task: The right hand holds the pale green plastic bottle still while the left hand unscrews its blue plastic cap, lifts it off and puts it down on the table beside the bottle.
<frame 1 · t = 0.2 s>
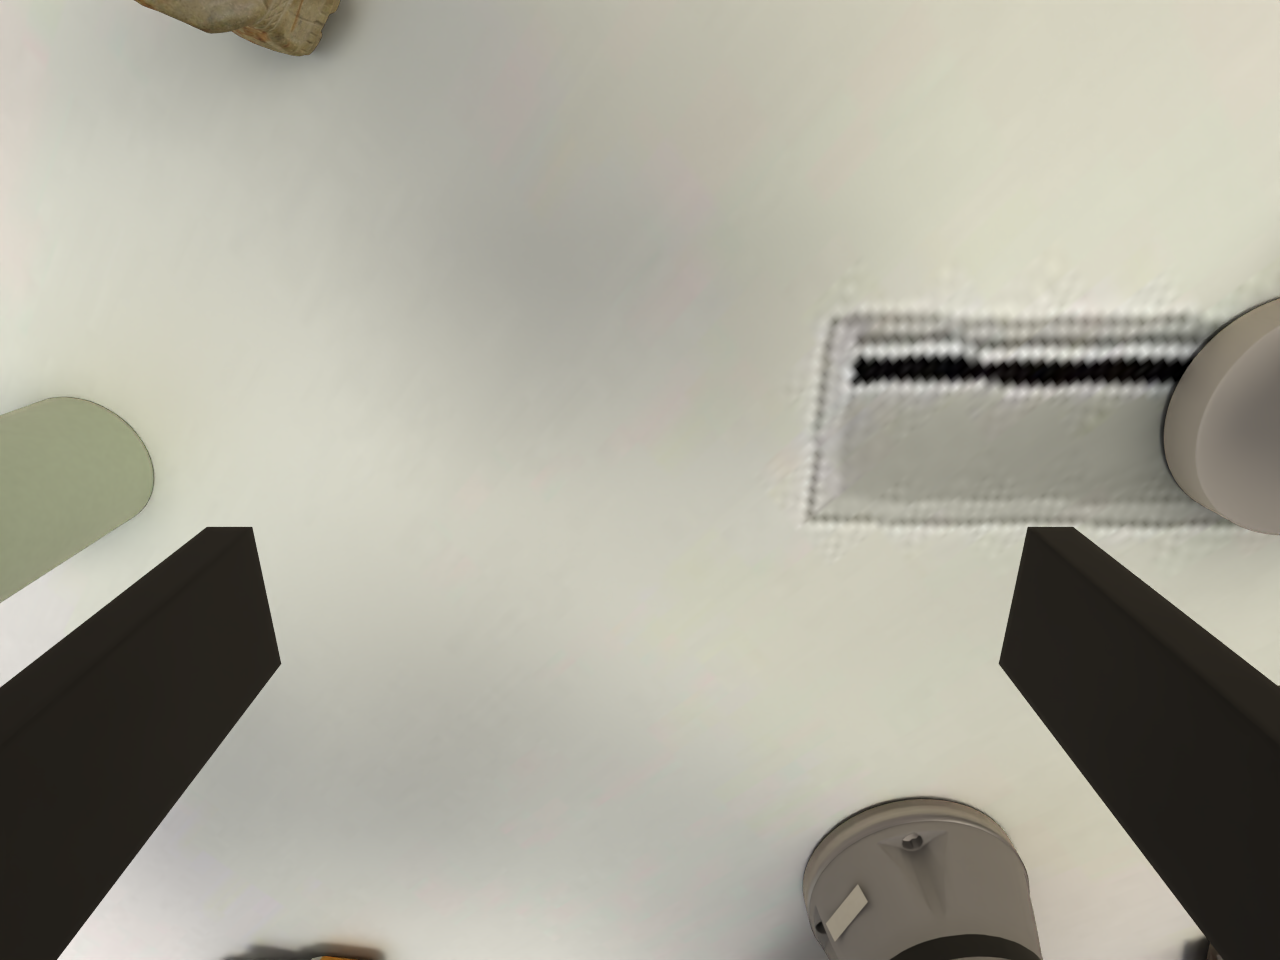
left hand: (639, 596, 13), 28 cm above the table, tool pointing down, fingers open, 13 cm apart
bottle: (83, 463, 42), on the table
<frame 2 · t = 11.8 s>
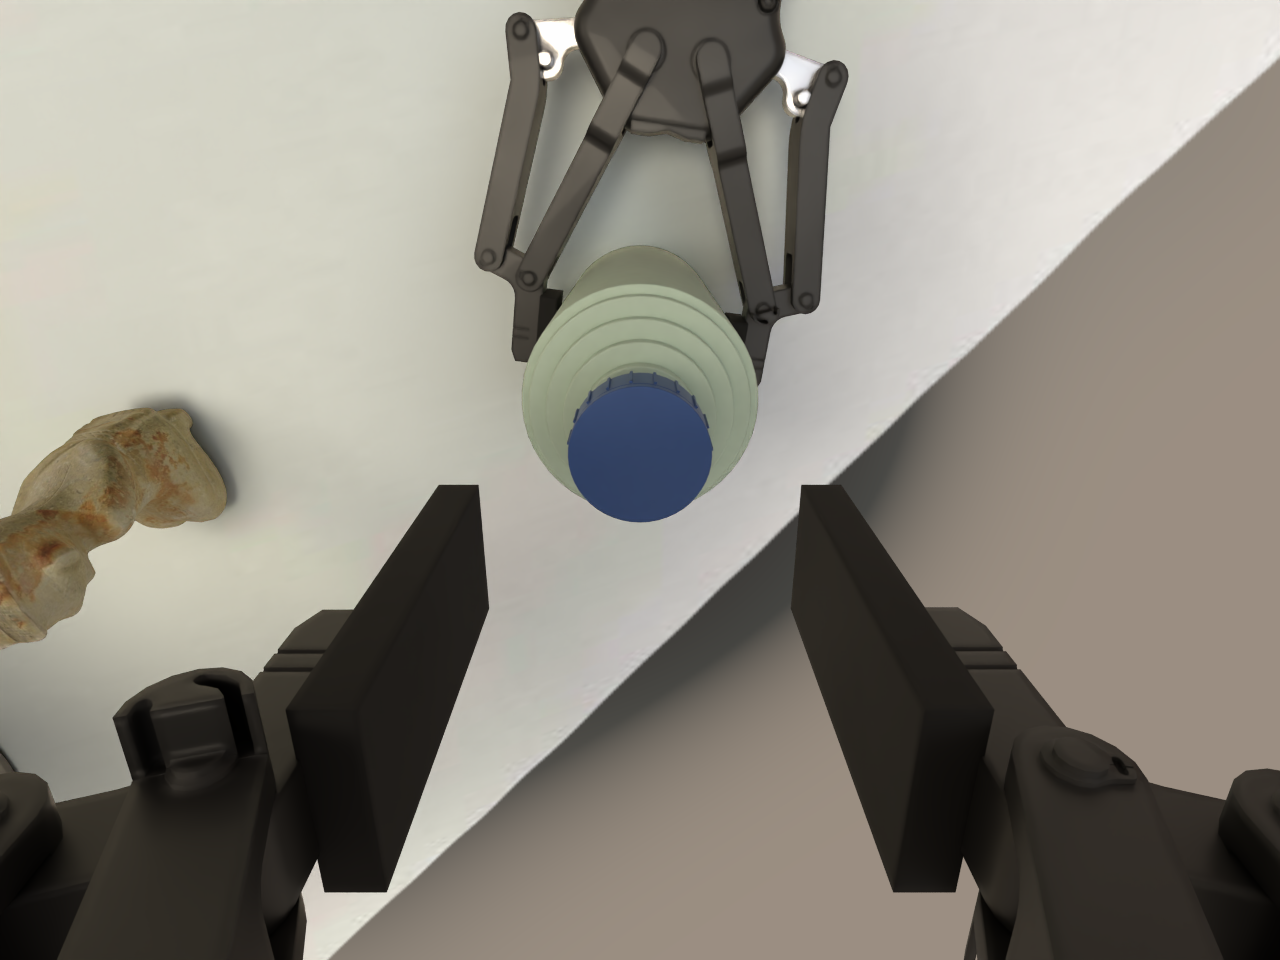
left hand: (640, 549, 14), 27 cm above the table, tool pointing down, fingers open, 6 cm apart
right hand: (627, 439, 36), fingers closed on bottle, 8 cm apart
bottle: (639, 320, 40), on the table, touching right hand
sculpture: (183, 455, 43), on the table
cap: (639, 453, 20), point 22 cm above the table, screwed on, not yet turned
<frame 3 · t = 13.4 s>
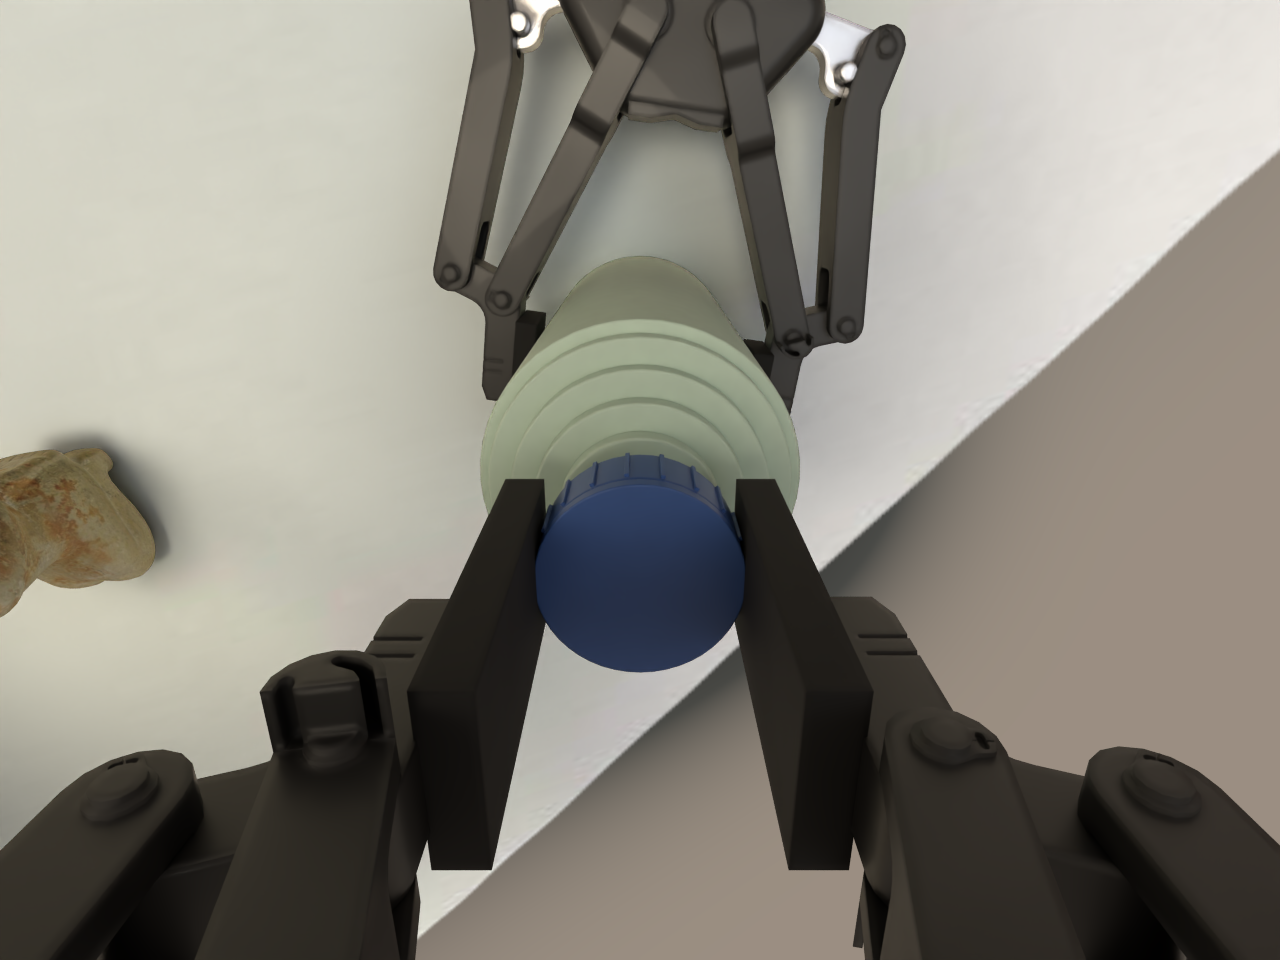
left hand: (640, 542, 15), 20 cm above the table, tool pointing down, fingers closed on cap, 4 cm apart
right hand: (624, 492, 30), fingers closed on bottle, 8 cm apart
bottle: (640, 344, 34), on the table, touching right hand
sculpture: (104, 501, 36), on the table
cap: (640, 575, 13), point 22 cm above the table, screwed on, not yet turned, touching left hand
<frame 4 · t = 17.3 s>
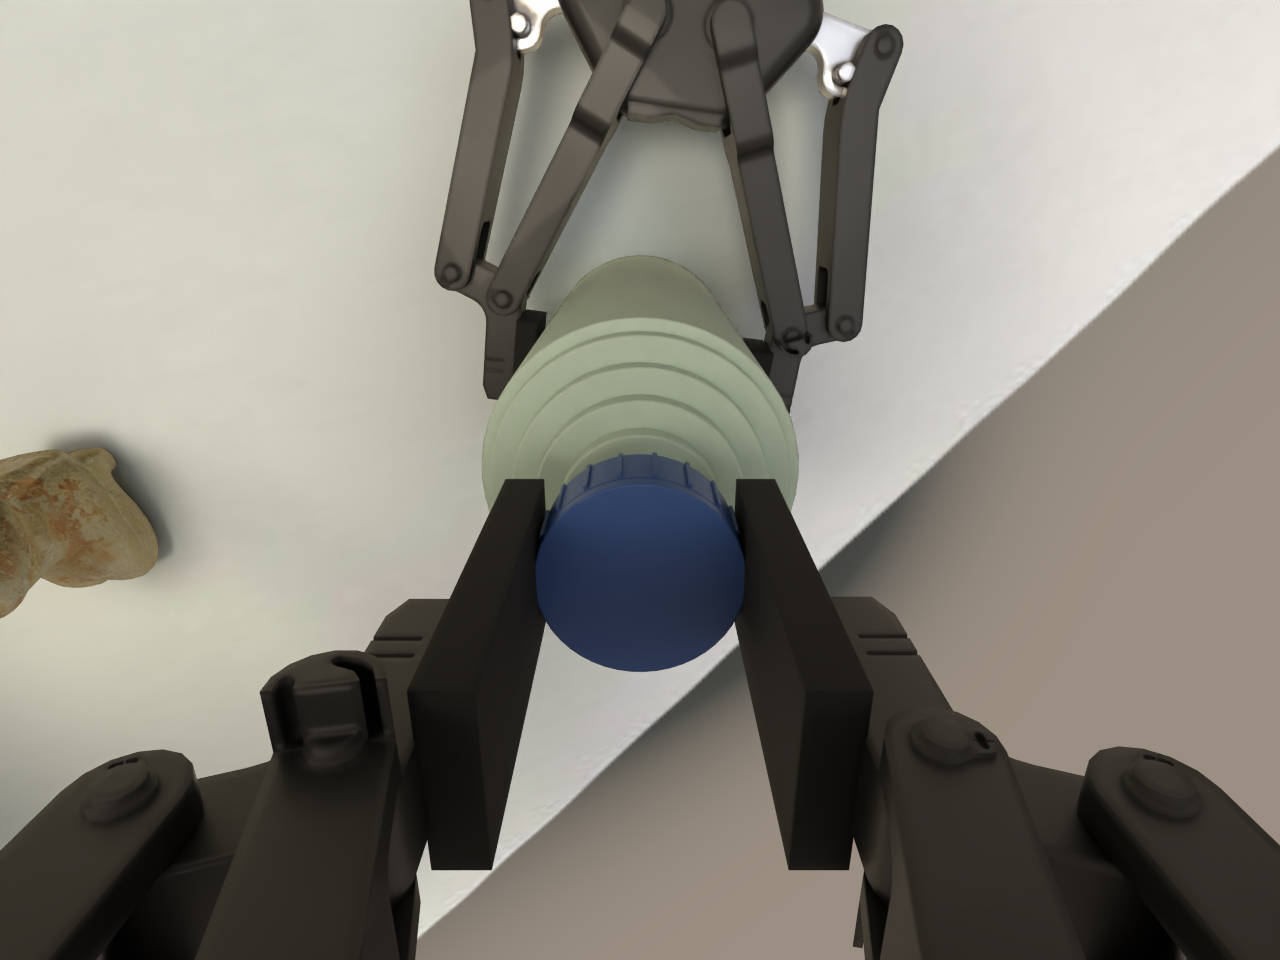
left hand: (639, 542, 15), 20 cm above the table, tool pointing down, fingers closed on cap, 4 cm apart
right hand: (624, 490, 30), fingers closed on bottle, 8 cm apart
bottle: (640, 343, 34), on the table, touching right hand
sculpture: (108, 500, 37), on the table
cap: (640, 575, 13), point 22 cm above the table, turned 136° so far, risen 0.2 cm, still on its thread, touching left hand
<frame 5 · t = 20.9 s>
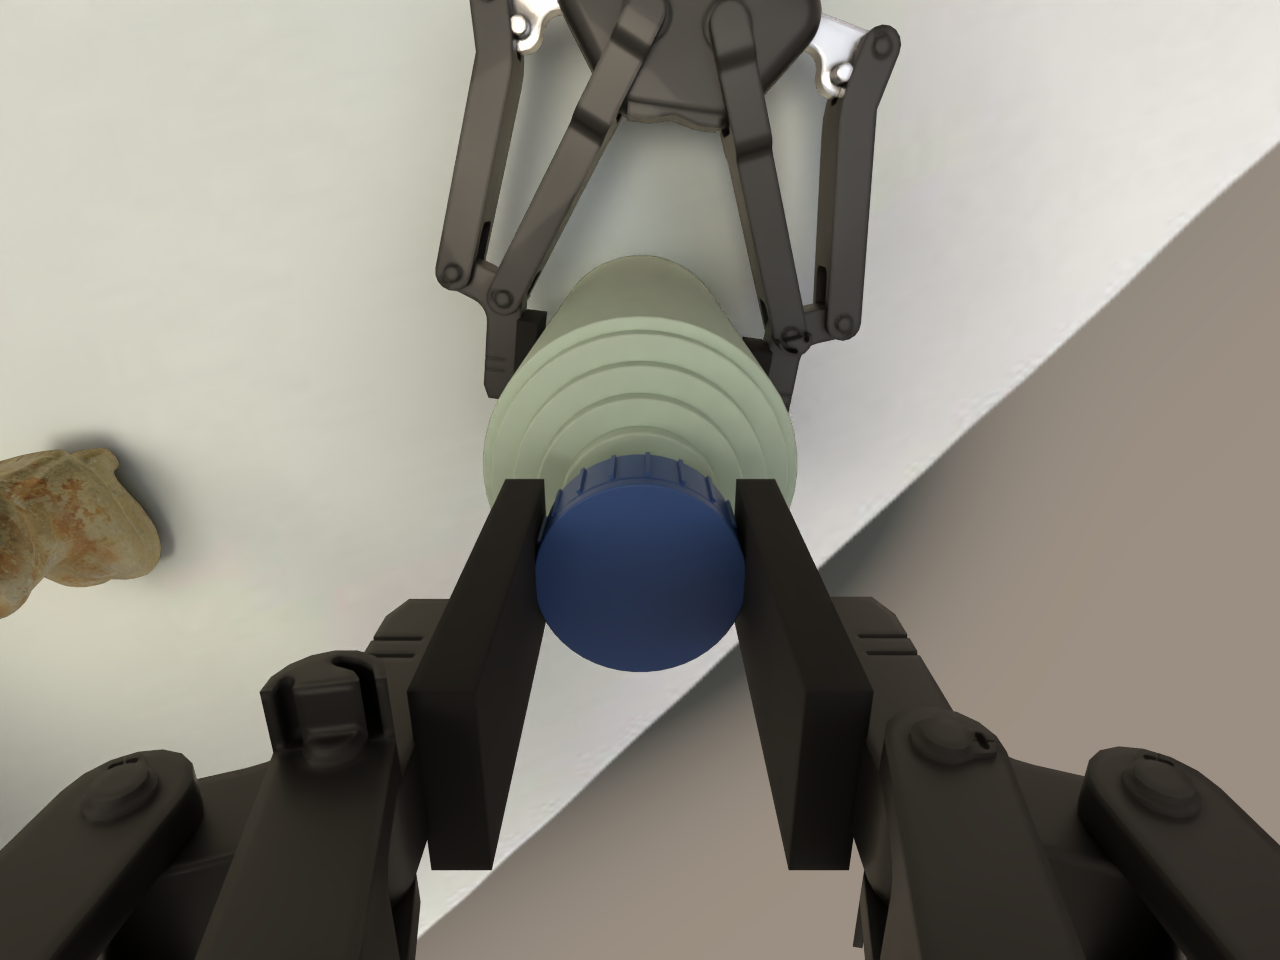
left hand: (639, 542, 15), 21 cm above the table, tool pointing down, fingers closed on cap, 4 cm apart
right hand: (625, 489, 30), fingers closed on bottle, 8 cm apart
bottle: (640, 343, 34), on the table, touching right hand
sculpture: (110, 500, 37), on the table
cap: (640, 575, 13), point 22 cm above the table, turned 273° so far, risen 0.3 cm, still on its thread, touching left hand
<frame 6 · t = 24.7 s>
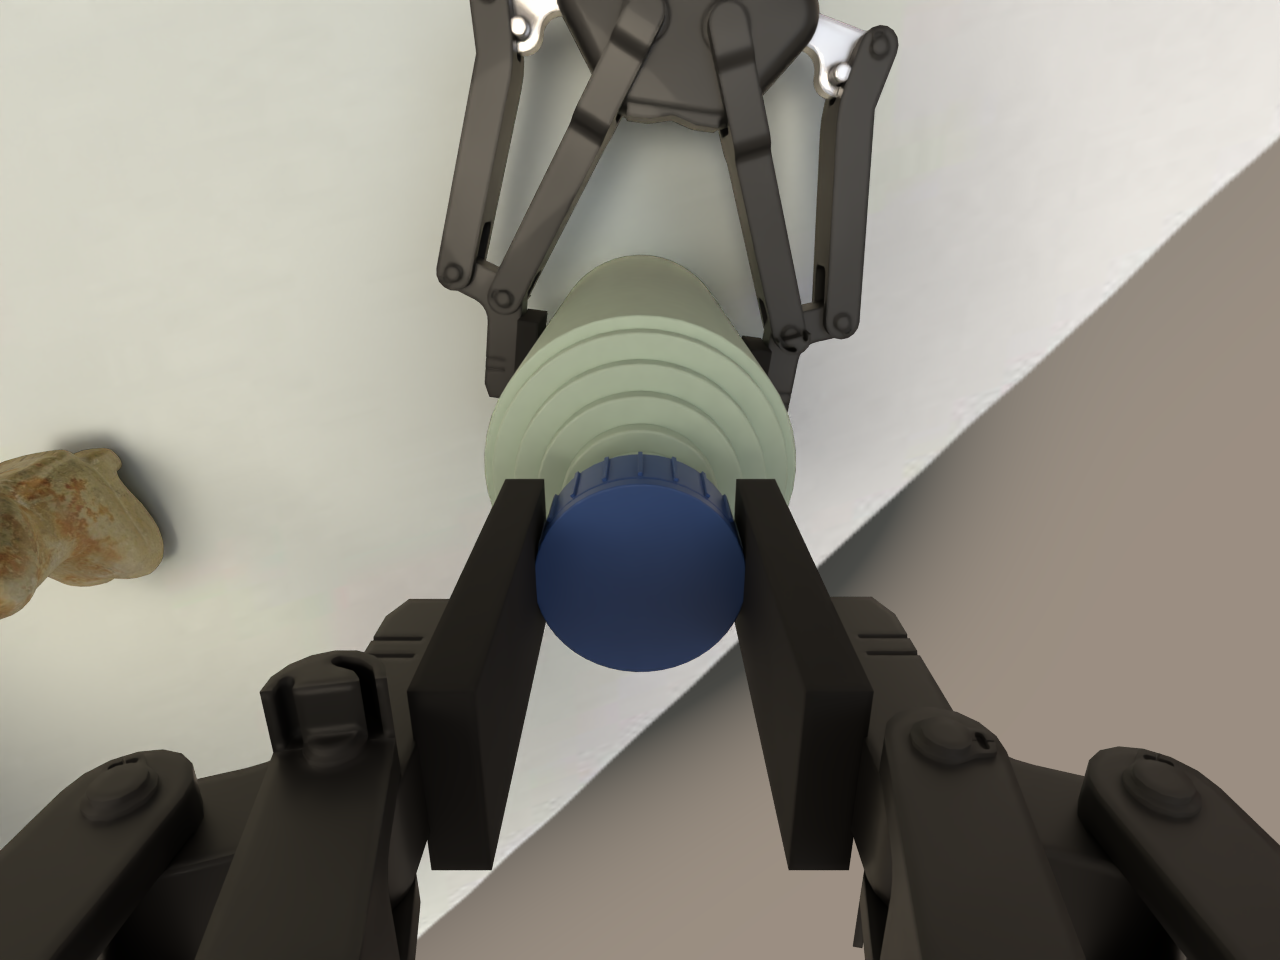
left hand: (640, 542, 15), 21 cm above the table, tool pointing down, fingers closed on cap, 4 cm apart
right hand: (625, 487, 30), fingers closed on bottle, 8 cm apart
bottle: (640, 342, 34), on the table, touching right hand
sculpture: (113, 500, 37), on the table
cap: (640, 575, 13), point 22 cm above the table, turned 409° so far, risen 0.5 cm, still on its thread, touching left hand
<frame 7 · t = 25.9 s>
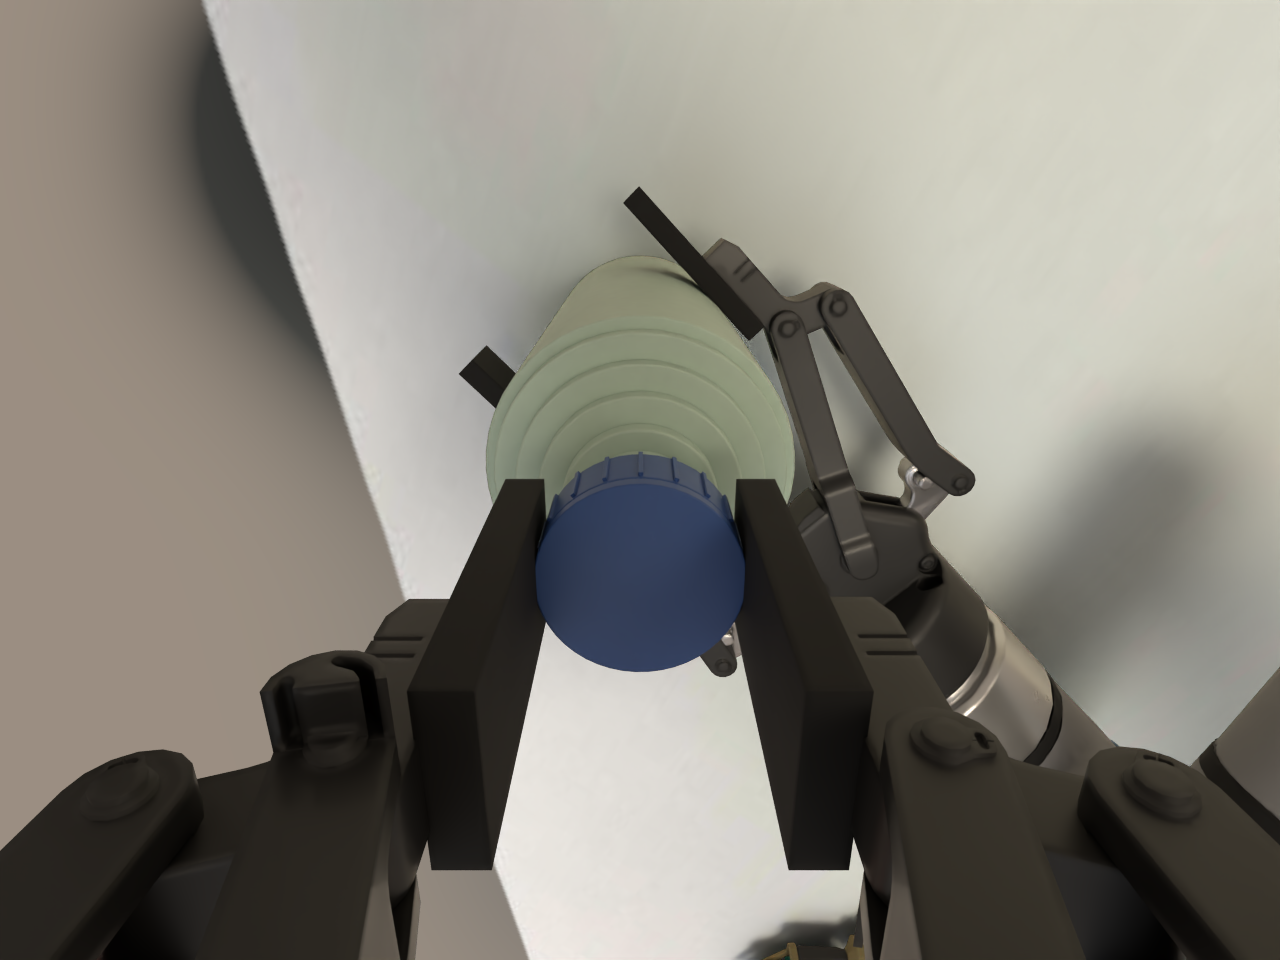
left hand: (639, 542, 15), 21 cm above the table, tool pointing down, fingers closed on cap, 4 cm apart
right hand: (549, 280, 27), fingers closed on bottle, 8 cm apart
bottle: (640, 342, 34), on the table, touching right hand
cap: (640, 575, 13), point 22 cm above the table, off its thread, touching left hand
when the left hand's fingers open (1 cm above the table, at t = 31.9 s): cap drops 1 cm, point 1 cm above the table.
when the right hand's fingers open (6 cm above the table, at t = 33.2 s): bottle stays where it is, on the table.
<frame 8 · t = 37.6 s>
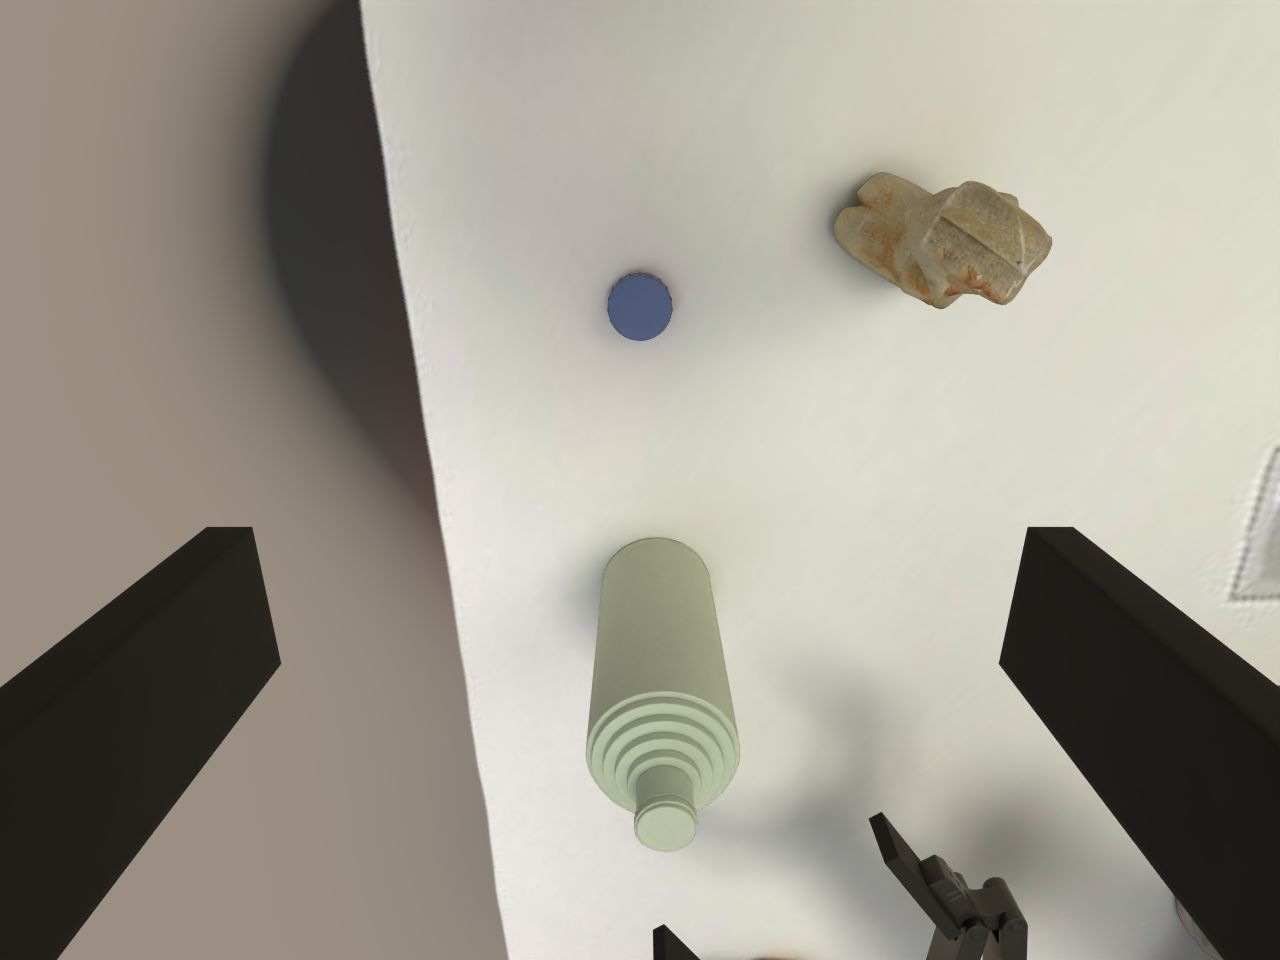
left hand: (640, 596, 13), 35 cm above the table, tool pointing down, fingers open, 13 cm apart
bottle: (656, 586, 53), on the table
sculpture: (889, 235, 44), on the table
cap: (640, 308, 44), point 1 cm above the table, off its thread
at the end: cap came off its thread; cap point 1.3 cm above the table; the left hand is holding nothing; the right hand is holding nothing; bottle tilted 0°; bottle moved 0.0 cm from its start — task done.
